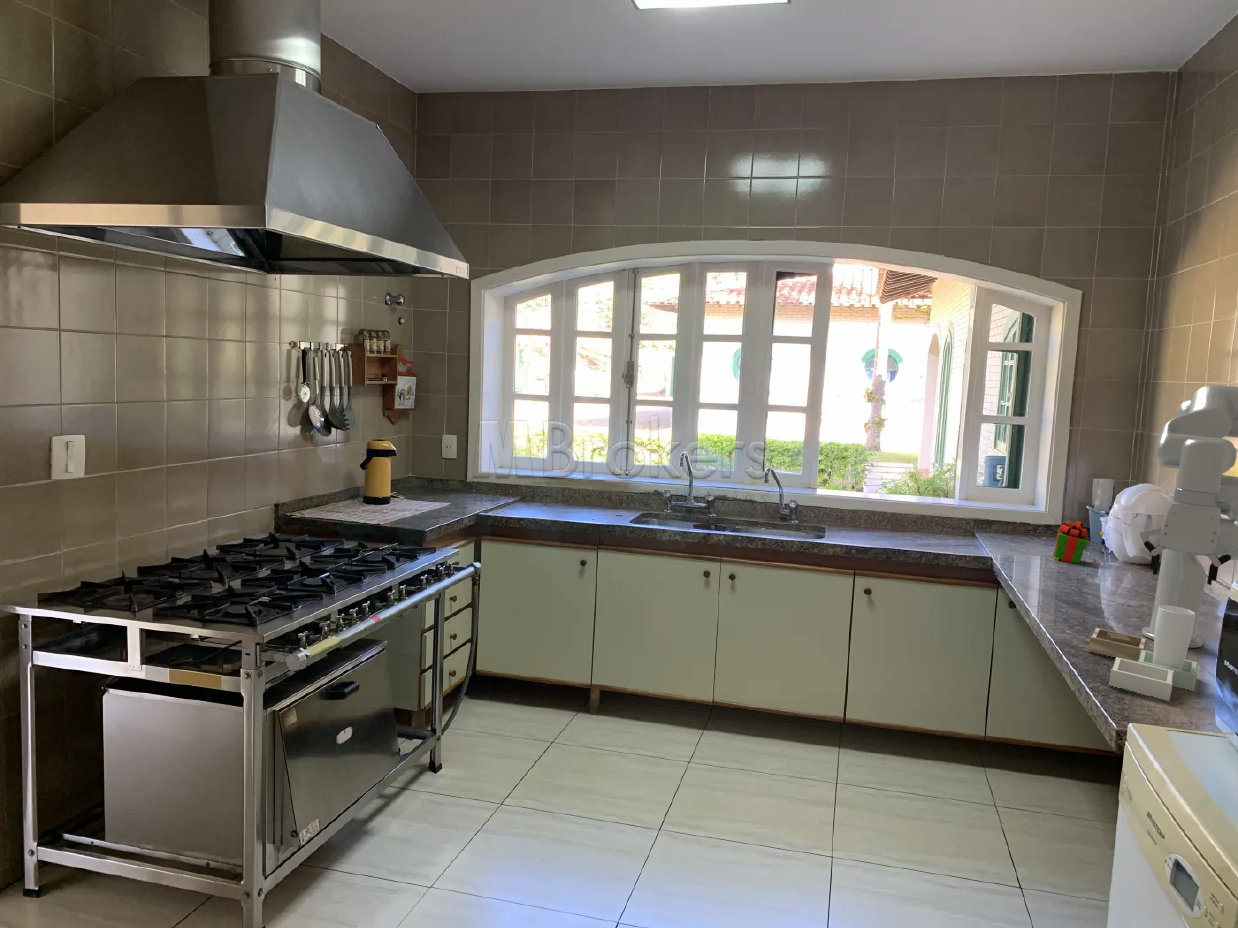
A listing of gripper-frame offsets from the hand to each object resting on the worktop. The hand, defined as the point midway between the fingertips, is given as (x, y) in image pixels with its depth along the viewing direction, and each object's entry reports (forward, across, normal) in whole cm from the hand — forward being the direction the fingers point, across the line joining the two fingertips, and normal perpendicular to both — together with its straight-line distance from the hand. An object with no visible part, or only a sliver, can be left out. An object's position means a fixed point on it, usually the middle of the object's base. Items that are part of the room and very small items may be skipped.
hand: (1181, 578), depth 180 cm
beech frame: (+22, +10, -11) cm, 26 cm away
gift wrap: (+24, +33, -119) cm, 126 cm away
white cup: (+22, 0, 0) cm, 22 cm away
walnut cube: (+22, +10, -11) cm, 27 cm away
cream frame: (+22, +4, +11) cm, 25 cm away
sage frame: (+22, 0, 0) cm, 22 cm away
